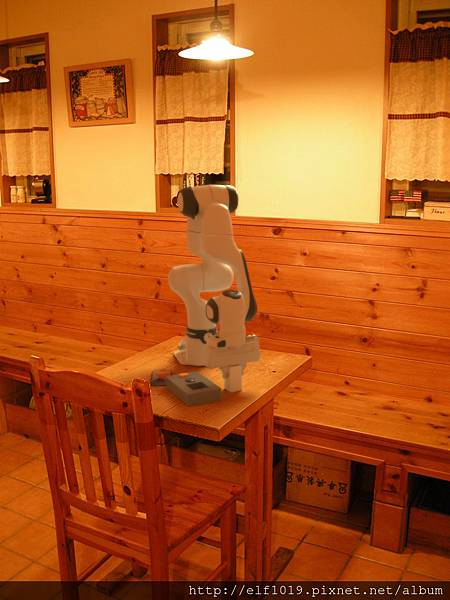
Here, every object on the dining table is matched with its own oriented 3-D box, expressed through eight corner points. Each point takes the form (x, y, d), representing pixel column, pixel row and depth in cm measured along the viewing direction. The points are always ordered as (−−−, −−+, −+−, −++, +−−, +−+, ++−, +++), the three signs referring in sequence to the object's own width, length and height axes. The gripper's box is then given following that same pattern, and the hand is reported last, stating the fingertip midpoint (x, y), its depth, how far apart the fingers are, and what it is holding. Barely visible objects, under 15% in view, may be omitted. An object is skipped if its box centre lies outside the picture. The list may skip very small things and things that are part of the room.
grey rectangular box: (165, 387, 219) (165, 374, 218) (196, 381, 224) (196, 369, 223) (188, 406, 201) (188, 392, 200) (221, 399, 207) (221, 386, 206)
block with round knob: (224, 388, 217) (224, 360, 215) (235, 386, 219) (235, 358, 217) (230, 392, 213) (230, 363, 211) (241, 390, 215) (241, 362, 213)
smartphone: (150, 387, 220) (150, 385, 220) (152, 373, 235) (152, 370, 234) (171, 387, 220) (171, 384, 220) (172, 372, 235) (172, 370, 235)
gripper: (254, 332, 220) (254, 369, 223) (202, 339, 211) (202, 378, 214) (263, 336, 214) (263, 374, 217) (210, 344, 205) (210, 384, 208)
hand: (232, 376), depth 215 cm, fingers closed on block with round knob, 4 cm apart
